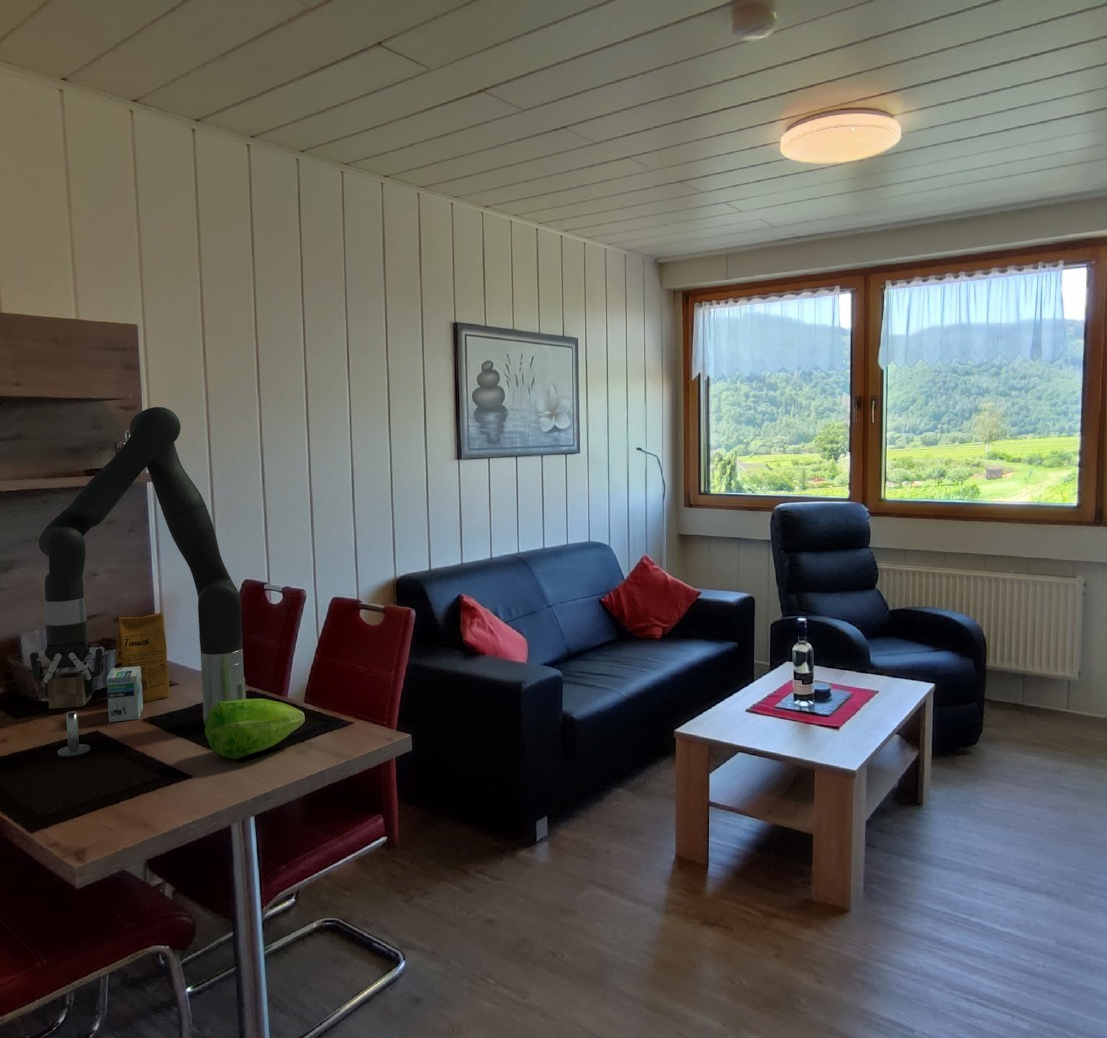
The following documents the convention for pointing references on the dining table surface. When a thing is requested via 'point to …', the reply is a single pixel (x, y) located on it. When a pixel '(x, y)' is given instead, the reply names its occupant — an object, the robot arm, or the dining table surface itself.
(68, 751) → the post
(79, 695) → the collar
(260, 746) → the lettuce
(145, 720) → the dining table surface
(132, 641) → the coffee package
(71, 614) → the robot arm
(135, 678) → the light bulb box
